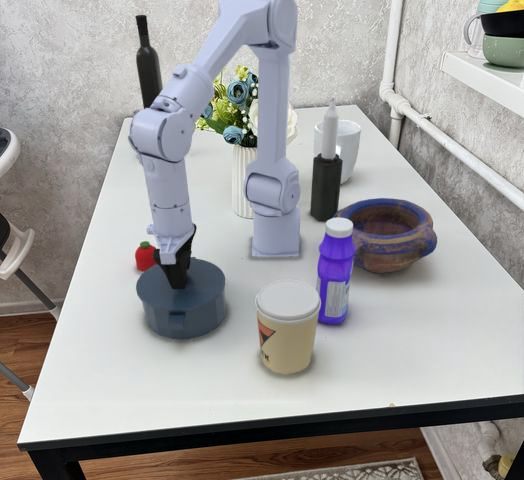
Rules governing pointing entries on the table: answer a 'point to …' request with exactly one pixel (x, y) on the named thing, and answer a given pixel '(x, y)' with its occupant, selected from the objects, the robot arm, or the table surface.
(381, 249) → the bowl
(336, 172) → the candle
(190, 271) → the lid
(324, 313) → the bottle
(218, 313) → the pot
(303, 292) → the coffee cup
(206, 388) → the table surface
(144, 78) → the wine bottle
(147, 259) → the strawberry
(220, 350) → the table surface
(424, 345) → the table surface
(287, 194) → the robot arm
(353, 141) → the mug
